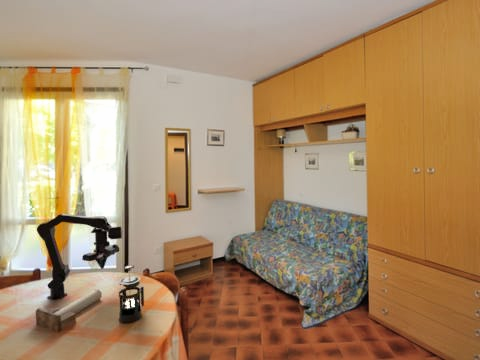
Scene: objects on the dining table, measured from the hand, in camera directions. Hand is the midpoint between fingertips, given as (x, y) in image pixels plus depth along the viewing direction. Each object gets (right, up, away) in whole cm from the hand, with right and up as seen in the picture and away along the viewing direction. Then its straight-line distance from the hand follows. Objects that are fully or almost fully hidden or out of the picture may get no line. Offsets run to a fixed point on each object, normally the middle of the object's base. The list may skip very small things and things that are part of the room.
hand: (102, 268), depth 144 cm
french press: (+27, -13, -26) cm, 40 cm away
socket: (-4, -13, -31) cm, 34 cm away
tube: (-1, -13, -21) cm, 25 cm away
